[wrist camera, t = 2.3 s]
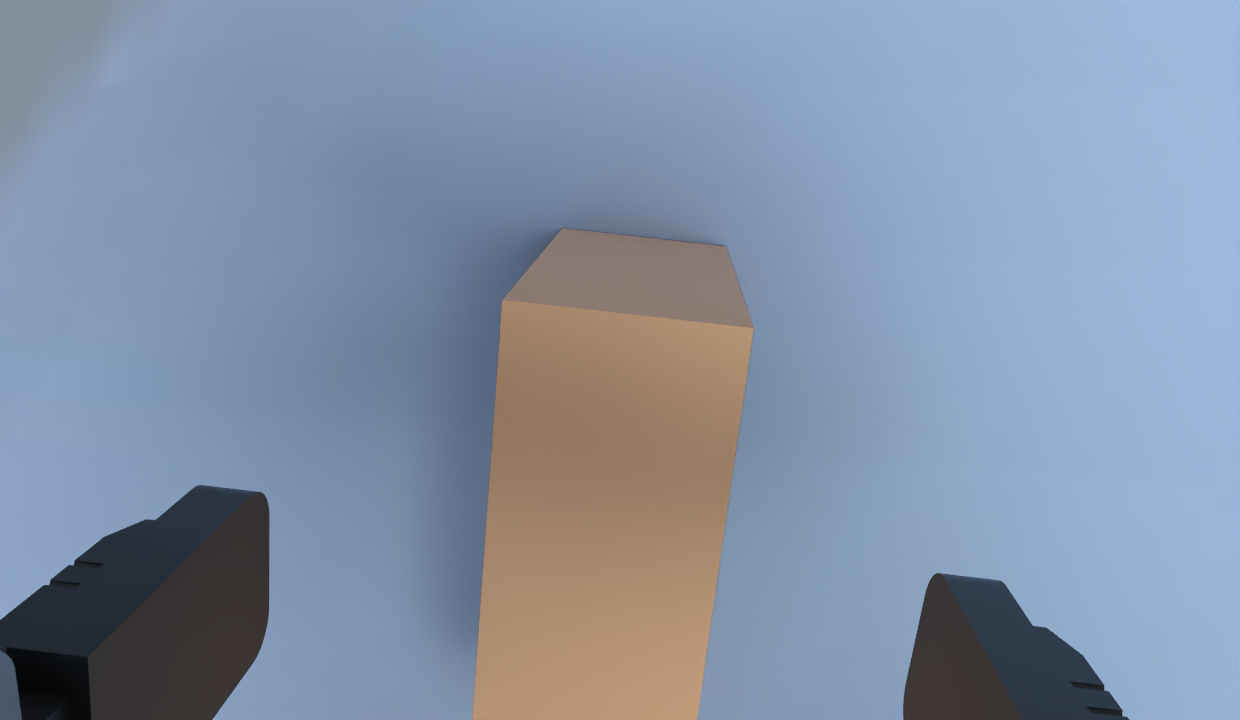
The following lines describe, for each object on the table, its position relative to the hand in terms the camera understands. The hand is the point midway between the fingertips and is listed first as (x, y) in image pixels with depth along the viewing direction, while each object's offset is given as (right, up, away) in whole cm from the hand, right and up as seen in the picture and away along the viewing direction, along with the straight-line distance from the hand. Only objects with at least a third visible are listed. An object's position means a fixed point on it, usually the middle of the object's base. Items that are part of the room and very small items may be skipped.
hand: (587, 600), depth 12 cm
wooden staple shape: (0, 0, +13) cm, 13 cm away
